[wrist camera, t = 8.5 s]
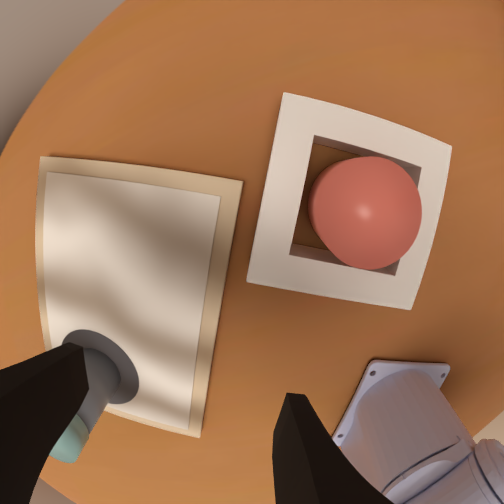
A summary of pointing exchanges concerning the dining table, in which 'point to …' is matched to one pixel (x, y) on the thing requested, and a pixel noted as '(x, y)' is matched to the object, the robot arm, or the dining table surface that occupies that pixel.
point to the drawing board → (137, 277)
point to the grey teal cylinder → (88, 405)
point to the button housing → (290, 192)
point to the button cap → (365, 211)
